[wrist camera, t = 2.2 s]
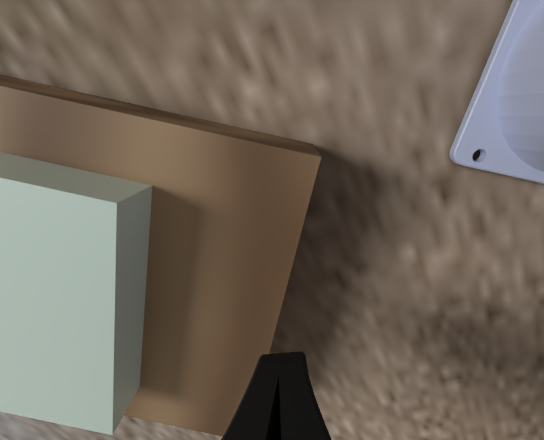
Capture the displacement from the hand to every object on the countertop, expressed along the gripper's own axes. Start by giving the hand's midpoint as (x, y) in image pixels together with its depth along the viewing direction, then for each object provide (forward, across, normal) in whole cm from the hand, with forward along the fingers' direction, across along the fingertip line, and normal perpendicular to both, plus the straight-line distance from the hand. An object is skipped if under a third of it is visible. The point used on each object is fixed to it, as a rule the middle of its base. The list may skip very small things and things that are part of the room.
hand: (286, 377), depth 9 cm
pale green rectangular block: (+2, +8, -3) cm, 9 cm away
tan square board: (+6, +7, -3) cm, 10 cm away
